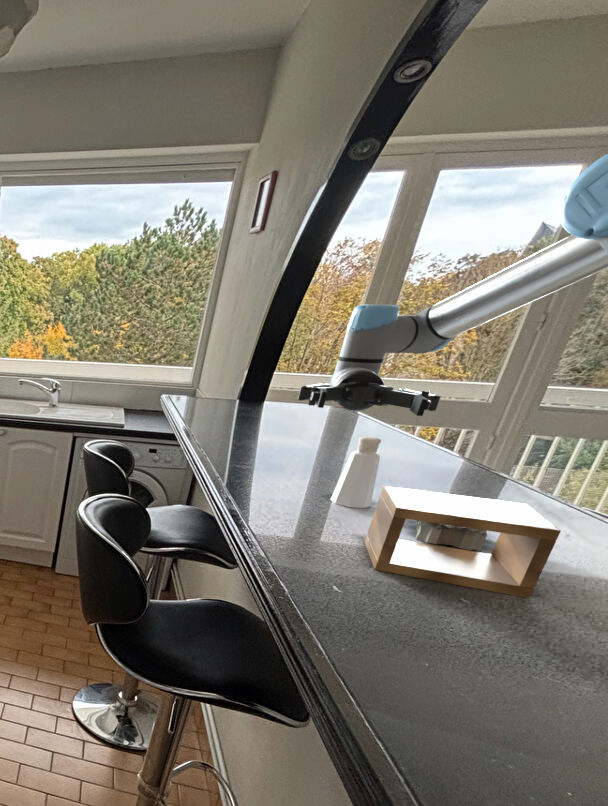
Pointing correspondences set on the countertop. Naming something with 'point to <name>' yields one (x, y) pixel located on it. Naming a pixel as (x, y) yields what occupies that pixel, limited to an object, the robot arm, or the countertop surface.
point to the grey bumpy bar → (450, 535)
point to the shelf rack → (499, 572)
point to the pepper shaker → (358, 475)
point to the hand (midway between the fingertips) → (371, 403)
